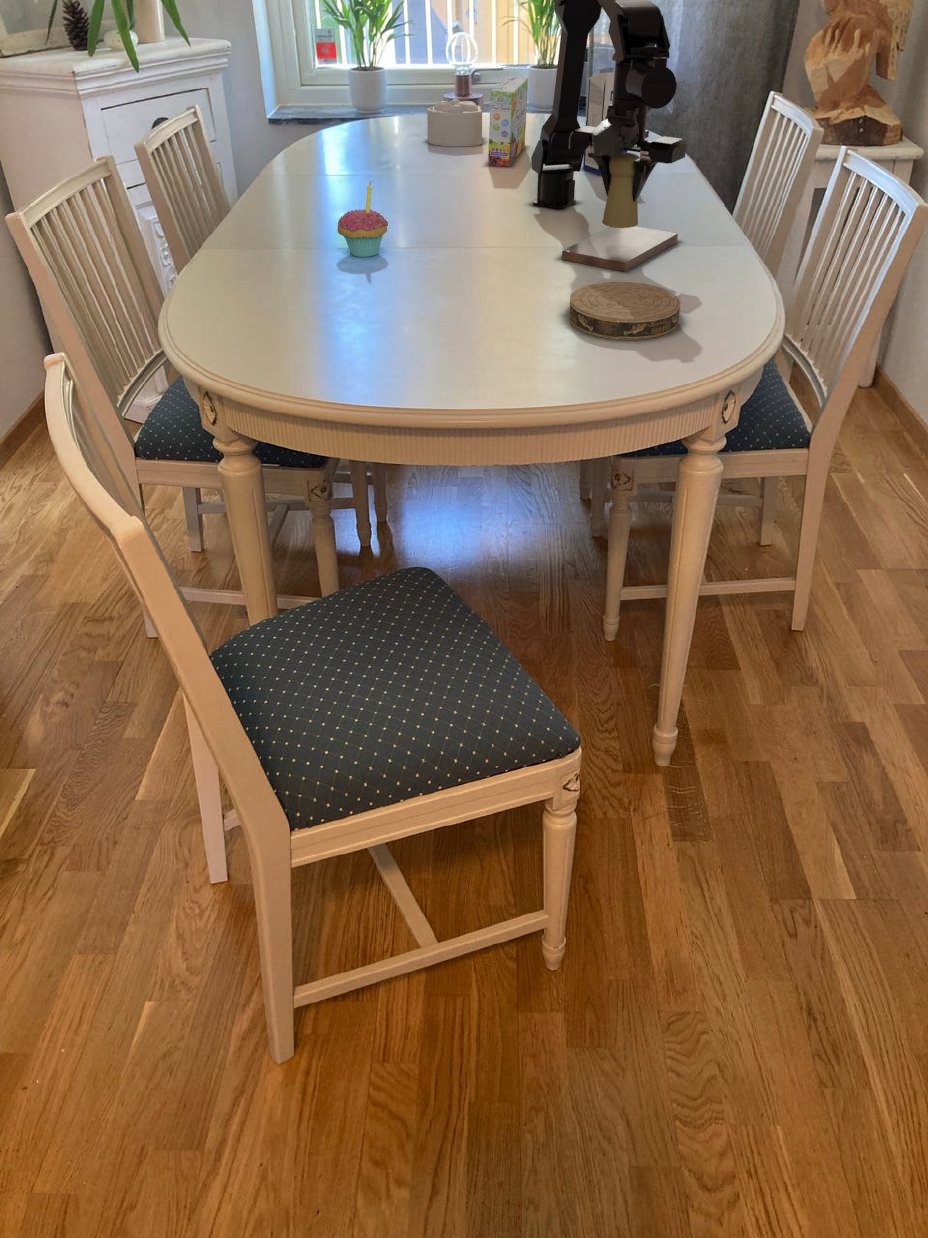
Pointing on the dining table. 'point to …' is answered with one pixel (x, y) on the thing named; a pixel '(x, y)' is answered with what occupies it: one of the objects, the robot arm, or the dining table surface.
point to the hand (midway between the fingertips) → (621, 199)
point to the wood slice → (624, 310)
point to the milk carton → (598, 108)
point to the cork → (621, 193)
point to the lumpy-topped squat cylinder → (455, 123)
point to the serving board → (619, 247)
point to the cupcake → (363, 229)
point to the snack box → (507, 120)
